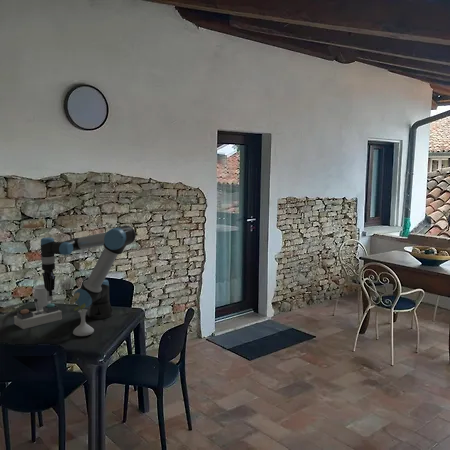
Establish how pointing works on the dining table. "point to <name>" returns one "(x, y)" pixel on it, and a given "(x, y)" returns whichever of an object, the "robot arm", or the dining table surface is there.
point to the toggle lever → (36, 305)
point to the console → (38, 317)
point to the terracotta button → (24, 311)
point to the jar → (41, 296)
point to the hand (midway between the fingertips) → (49, 300)
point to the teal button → (50, 305)
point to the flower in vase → (83, 327)
